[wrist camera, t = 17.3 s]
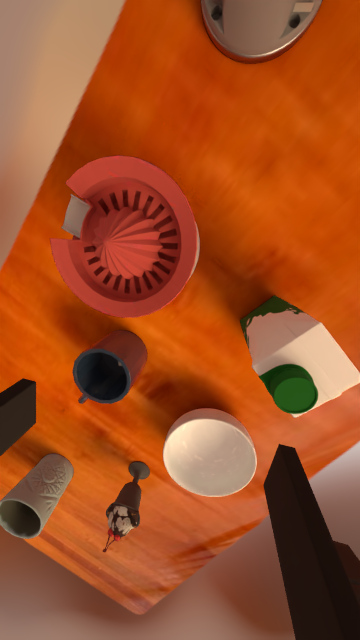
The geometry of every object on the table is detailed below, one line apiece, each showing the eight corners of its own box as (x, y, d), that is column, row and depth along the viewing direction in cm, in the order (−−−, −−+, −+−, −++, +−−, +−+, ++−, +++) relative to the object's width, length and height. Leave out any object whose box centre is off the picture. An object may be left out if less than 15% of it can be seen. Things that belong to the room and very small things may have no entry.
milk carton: (232, 319, 41) (246, 375, 22) (276, 286, 39) (335, 318, 20) (262, 356, 42) (300, 440, 23) (307, 326, 40) (392, 393, 21)
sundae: (122, 475, 55) (90, 553, 40) (128, 454, 53) (96, 528, 39) (149, 485, 54) (126, 567, 40) (156, 464, 52) (134, 543, 38)
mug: (118, 319, 44) (93, 336, 35) (157, 352, 45) (142, 377, 36) (82, 365, 48) (51, 390, 39) (118, 394, 49) (96, 426, 40)
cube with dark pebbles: (117, 355, 43) (130, 356, 43) (122, 350, 45) (134, 351, 45) (118, 365, 44) (131, 366, 44) (122, 360, 46) (135, 361, 46)
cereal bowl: (250, 468, 49) (255, 502, 42) (172, 462, 52) (165, 493, 45) (252, 397, 45) (258, 422, 38) (166, 394, 47) (158, 417, 41)
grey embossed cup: (47, 484, 59) (7, 539, 48) (32, 451, 57) (-14, 501, 46) (82, 481, 57) (49, 538, 46) (68, 447, 55) (29, 498, 44)
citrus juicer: (125, 175, 38) (31, 93, 19) (221, 224, 37) (228, 191, 18) (94, 265, 42) (-6, 273, 23) (180, 308, 42) (150, 353, 23)
